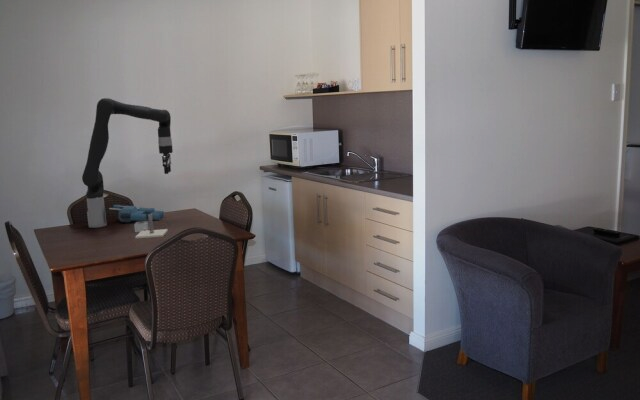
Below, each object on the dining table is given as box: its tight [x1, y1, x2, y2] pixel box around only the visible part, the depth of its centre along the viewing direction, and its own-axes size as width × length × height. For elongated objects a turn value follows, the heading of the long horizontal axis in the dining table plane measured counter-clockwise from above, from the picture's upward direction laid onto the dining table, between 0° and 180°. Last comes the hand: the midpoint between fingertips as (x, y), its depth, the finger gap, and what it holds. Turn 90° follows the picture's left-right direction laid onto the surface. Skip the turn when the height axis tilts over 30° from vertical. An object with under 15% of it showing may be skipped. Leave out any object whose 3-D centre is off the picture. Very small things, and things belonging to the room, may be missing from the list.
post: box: [135, 214, 169, 239], centre depth 300 cm, size 14×14×11 cm
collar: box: [133, 220, 150, 233], centre depth 312 cm, size 6×6×4 cm
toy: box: [108, 203, 165, 223], centre depth 344 cm, size 22×9×30 cm
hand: (167, 172), depth 327 cm, fingers open, 8 cm apart
